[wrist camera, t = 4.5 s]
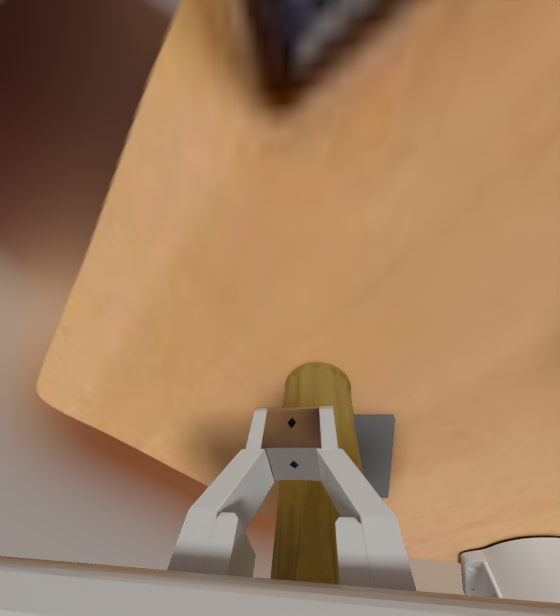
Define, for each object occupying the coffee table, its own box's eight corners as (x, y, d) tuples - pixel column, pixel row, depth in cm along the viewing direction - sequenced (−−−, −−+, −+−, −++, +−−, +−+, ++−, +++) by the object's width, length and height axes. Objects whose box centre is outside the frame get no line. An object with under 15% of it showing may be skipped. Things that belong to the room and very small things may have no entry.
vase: (300, 351, 21) (287, 604, 8) (363, 375, 21) (441, 649, 9) (276, 396, 24) (239, 635, 11) (332, 416, 24) (357, 668, 12)
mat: (386, 493, 29) (387, 497, 29) (290, 489, 31) (290, 493, 31) (393, 414, 23) (394, 419, 23) (273, 416, 25) (272, 420, 25)
